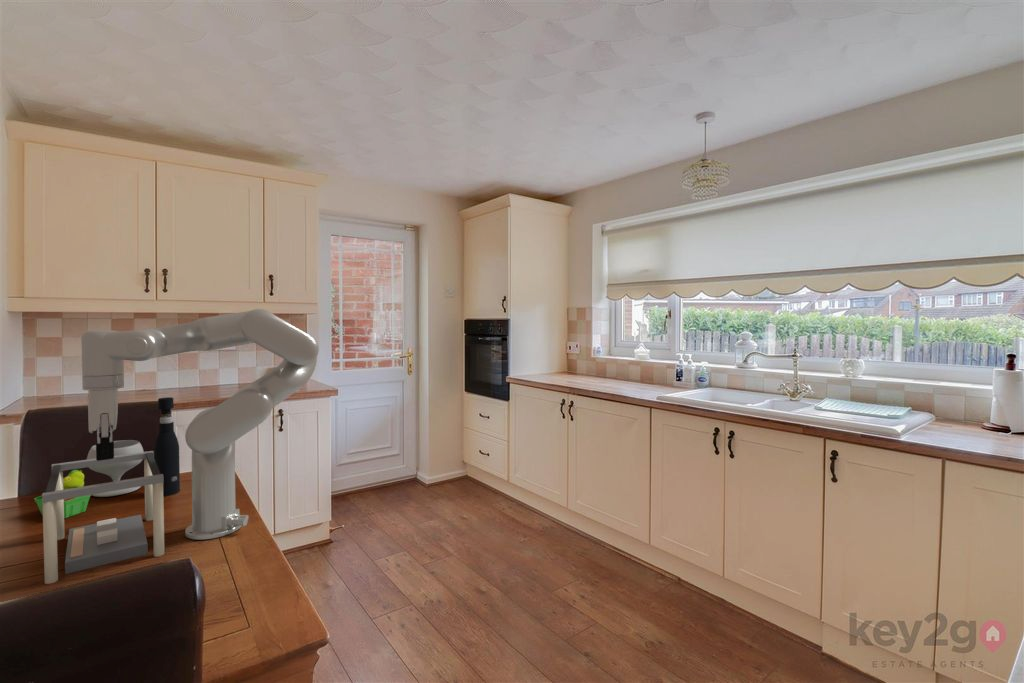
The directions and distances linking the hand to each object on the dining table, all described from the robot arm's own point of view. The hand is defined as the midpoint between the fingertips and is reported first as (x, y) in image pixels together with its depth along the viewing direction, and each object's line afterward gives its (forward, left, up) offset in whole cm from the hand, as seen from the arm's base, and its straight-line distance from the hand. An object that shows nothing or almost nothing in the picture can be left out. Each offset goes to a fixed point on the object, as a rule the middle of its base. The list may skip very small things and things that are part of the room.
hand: (105, 458), depth 114 cm
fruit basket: (+30, -18, -21) cm, 41 cm away
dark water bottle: (+14, -35, -21) cm, 43 cm away
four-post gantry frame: (0, 0, -21) cm, 21 cm away
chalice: (+31, -35, -21) cm, 51 cm away
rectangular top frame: (0, 0, -4) cm, 4 cm away
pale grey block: (-3, +3, -19) cm, 19 cm away
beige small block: (+3, -3, -19) cm, 19 cm away
